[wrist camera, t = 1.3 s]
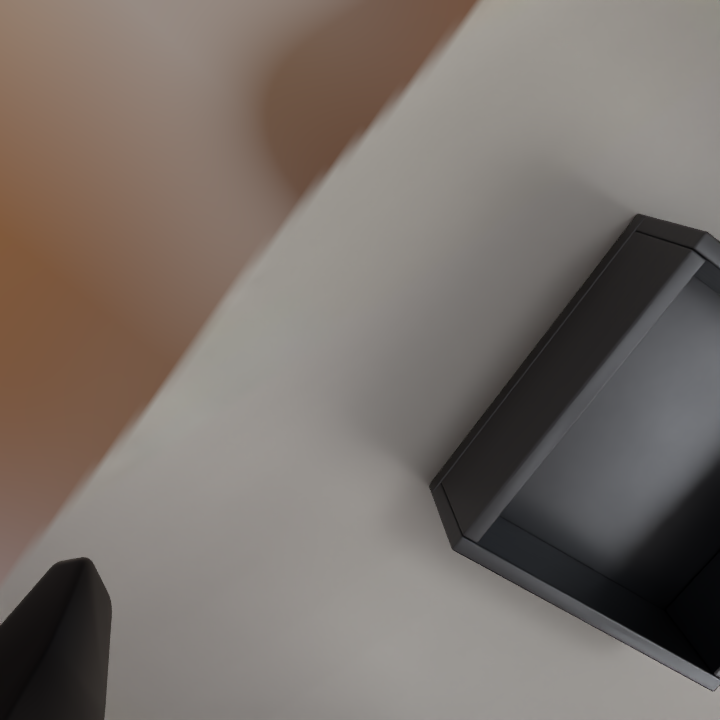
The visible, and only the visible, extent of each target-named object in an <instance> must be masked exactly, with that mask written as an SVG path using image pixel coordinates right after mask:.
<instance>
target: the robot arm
mask: <svg viewBox="0 0 720 720" xmlns="http://www.w3.org/2000/svg"><path fill="white" fill-rule="evenodd" d="M111 619H112V605H111V600H110V596H109V594H108V592H107V590H106V588H105V586H104V584H103V582H102V580H101V577H100V575H99V573H98V571H97V569H96V567H95V565H94V564H93V562H92V561H91V560H90V559H89V558H86V557H81V558H76V559H70V560H64V561H60V562H57V563H56V564H54V565H53V566H52V567H51V568H50V569H49V570H48V571H47V573H46V574H45V575H44V576H43V577H42V578H41V579H40V581H39V582H38V583H37V584H36V585H35V586H34V587H33V589H32V590H31V591H30V592H29V593H28V594H27V596H26V597H25V598H24V599H23V600H22V601H21V602H20V604H19V605H18V606H17V607H16V608H15V609H14V610H13V612H12V613H11V614H10V615H9V616H8V617H7V618H6V620H5V621H4V622H3V623H2V624H1V625H0V720H104V717H105V706H106V691H107V677H108V662H109V648H110V634H111Z"/></svg>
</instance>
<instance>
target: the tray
mask: <svg viewBox="0 0 720 720" xmlns="http://www.w3.org/2000/svg"><path fill="white" fill-rule="evenodd" d="M429 488H430V490H431V493H432V496H433V498H434V501H435V504H436V507H437V509H438V512H439V515H440V518H441V520H442V523H443V526H444V528H445V531H446V534H447V537H448V539H449V542H450V545H451V548H452V549H453V550H454V551H456V552H457V553H459V554H461V555H463V556H465V557H467V558H469V559H470V560H472V561H474V562H476V563H478V564H480V565H481V566H483V567H485V568H487V569H489V570H491V571H492V572H494V573H496V574H498V575H500V576H502V577H503V578H505V579H507V580H509V581H511V582H513V583H514V584H516V585H518V586H520V587H522V588H524V589H525V590H527V591H529V592H531V593H533V594H535V595H536V596H538V597H540V598H542V599H544V600H546V601H547V602H549V603H551V604H553V605H555V606H557V607H558V608H560V609H562V610H564V611H566V612H568V613H569V614H571V615H573V616H575V617H577V618H579V619H580V620H582V621H584V622H586V623H588V624H590V625H591V626H593V627H595V628H597V629H599V630H601V631H603V632H604V633H606V634H608V635H610V636H612V637H614V638H615V639H617V640H619V641H621V642H623V643H625V644H626V645H628V646H630V647H632V648H634V649H636V650H637V651H639V652H641V653H643V654H645V655H647V656H648V657H650V658H652V659H654V660H656V661H658V662H659V663H661V664H663V665H665V666H667V667H669V668H670V669H672V670H674V671H676V672H678V673H680V674H681V675H683V676H685V677H687V678H689V679H691V680H692V681H694V682H696V683H698V684H700V685H702V686H703V687H705V688H707V689H709V690H711V691H715V690H716V689H717V688H718V687H719V686H720V241H718V240H717V239H716V238H714V237H713V236H712V235H711V234H709V233H708V232H706V231H702V230H698V229H694V228H691V227H687V226H683V225H679V224H676V223H672V222H668V221H664V220H660V219H657V218H653V217H649V216H646V215H642V214H637V215H636V217H635V218H634V219H633V221H632V222H631V223H630V224H629V226H628V227H627V228H626V230H625V231H624V232H623V234H622V235H621V236H620V237H619V239H618V240H617V241H616V243H615V244H614V245H613V247H612V248H611V249H610V251H609V252H608V253H607V254H606V256H605V257H604V258H603V260H602V261H601V262H600V264H599V265H598V266H597V267H596V269H595V270H594V271H593V273H592V274H591V275H590V277H589V278H588V279H587V280H586V282H585V283H584V284H583V286H582V287H581V288H580V290H579V291H578V292H577V293H576V295H575V296H574V297H573V299H572V300H571V301H570V303H569V304H568V305H567V307H566V308H565V309H564V310H563V312H562V313H561V314H560V316H559V317H558V318H557V320H556V321H555V322H554V323H553V325H552V326H551V327H550V329H549V330H548V331H547V333H546V334H545V335H544V336H543V338H542V339H541V340H540V342H539V343H538V344H537V346H536V347H535V348H534V350H533V351H532V352H531V353H530V355H529V356H528V357H527V359H526V360H525V361H524V363H523V364H522V365H521V366H520V368H519V369H518V370H517V372H516V373H515V374H514V376H513V377H512V378H511V379H510V381H509V382H508V383H507V385H506V386H505V387H504V389H503V390H502V391H501V393H500V394H499V395H498V396H497V398H496V399H495V400H494V402H493V403H492V404H491V406H490V407H489V408H488V409H487V411H486V412H485V413H484V415H483V416H482V417H481V419H480V420H479V421H478V422H477V424H476V425H475V426H474V428H473V429H472V430H471V432H470V433H469V434H468V436H467V437H466V438H465V439H464V441H463V442H462V443H461V445H460V446H459V447H458V449H457V450H456V451H455V452H454V454H453V455H452V456H451V458H450V459H449V460H448V462H447V463H446V464H445V465H444V467H443V468H442V469H441V471H440V472H439V473H438V475H437V476H436V477H435V479H434V480H433V481H432V482H431V484H430V485H429Z"/></svg>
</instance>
